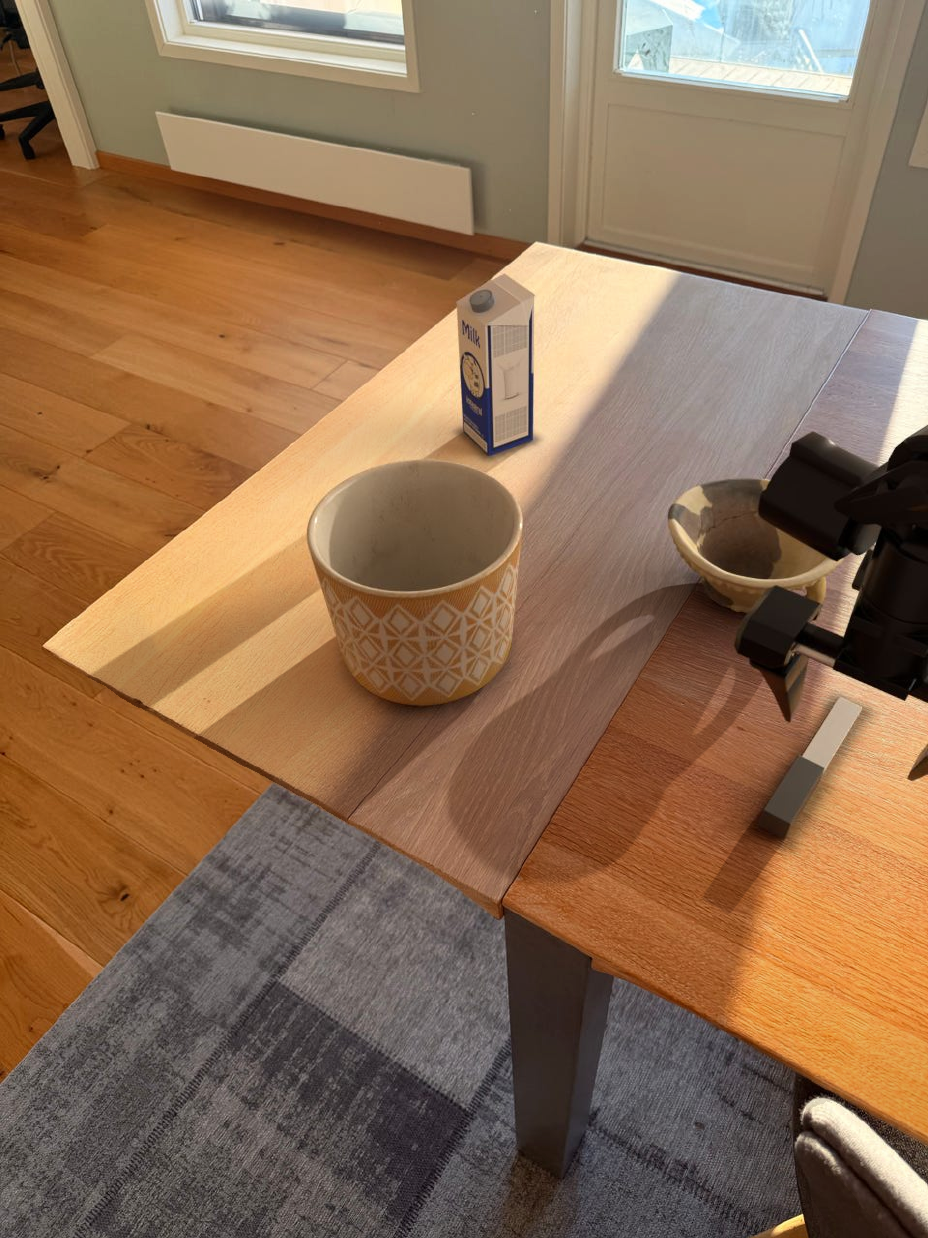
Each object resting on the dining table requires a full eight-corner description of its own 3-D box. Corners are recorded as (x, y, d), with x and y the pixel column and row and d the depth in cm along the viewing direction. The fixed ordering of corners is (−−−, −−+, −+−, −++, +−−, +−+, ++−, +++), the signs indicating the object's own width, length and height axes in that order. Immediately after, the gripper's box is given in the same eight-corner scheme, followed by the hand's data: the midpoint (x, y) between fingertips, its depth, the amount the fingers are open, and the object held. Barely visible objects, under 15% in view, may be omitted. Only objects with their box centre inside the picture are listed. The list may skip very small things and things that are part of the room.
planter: (309, 710, 87) (277, 584, 76) (359, 576, 101) (339, 452, 89) (508, 732, 84) (506, 605, 73) (532, 591, 98) (534, 465, 86)
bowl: (863, 591, 96) (889, 520, 89) (761, 680, 88) (781, 609, 81) (725, 517, 105) (739, 447, 98) (622, 591, 97) (630, 521, 90)
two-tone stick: (784, 840, 75) (790, 824, 73) (757, 825, 76) (762, 809, 75) (862, 711, 84) (869, 695, 83) (836, 700, 85) (843, 683, 84)
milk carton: (533, 440, 118) (535, 293, 104) (489, 456, 116) (484, 308, 102) (505, 415, 123) (503, 271, 108) (462, 430, 120) (454, 285, 106)
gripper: (1106, 579, 57) (1013, 735, 68) (818, 480, 66) (777, 632, 76) (1060, 688, 51) (966, 839, 62) (749, 563, 60) (715, 715, 70)
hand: (849, 746), depth 68 cm, fingers open, 9 cm apart
